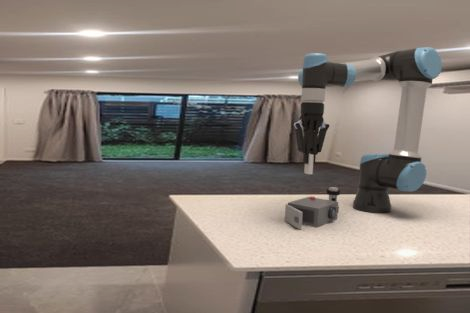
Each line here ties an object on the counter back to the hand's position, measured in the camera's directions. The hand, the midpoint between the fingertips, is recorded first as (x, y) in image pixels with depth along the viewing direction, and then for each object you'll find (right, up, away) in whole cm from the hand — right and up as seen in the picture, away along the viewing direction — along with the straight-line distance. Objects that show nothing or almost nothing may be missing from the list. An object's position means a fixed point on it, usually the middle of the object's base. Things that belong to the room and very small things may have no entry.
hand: (308, 173), depth 133 cm
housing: (+4, -17, +12) cm, 22 cm away
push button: (+13, -17, +24) cm, 32 cm away
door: (-5, -18, +4) cm, 19 cm away
